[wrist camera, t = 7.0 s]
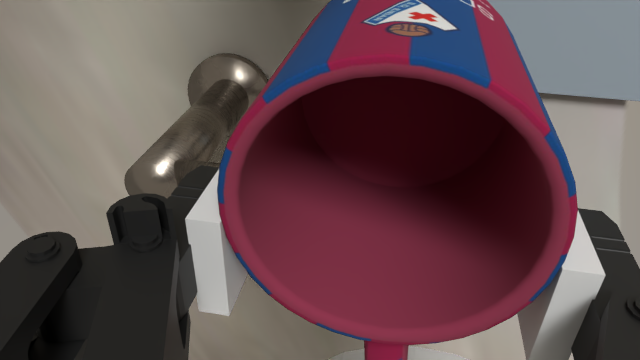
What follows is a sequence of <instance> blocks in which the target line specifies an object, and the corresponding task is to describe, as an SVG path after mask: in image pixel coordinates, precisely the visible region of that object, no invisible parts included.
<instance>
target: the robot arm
mask: <svg viewBox="0 0 640 360" xmlns="http://www.w3.org/2000/svg"><path fill="white" fill-rule="evenodd" d="M218 176H219V167H211V166H203V165H201V166H199V167H197V168H196V169H194V170H192V171H191V172H189V173H187V174H186V175H185V177H184V178H183V179H182V180H181V182H180V183H179V184H178V187H176V188H175V190H174V191H173V192H172V193H171V196H169V197H168V199H167V198H165V197H164V196H161V195H157V194H149V193H142V194H136V195H131V196H128V197H126V198H123V199H121V200H119V201H117V202H116V203H115V204H113V205H112V206H111V207H110V208H109V210H108V211H107V213H106V214H107V218H108V222H109V226H110V230H111V234H112V238H113V242H114V245H112V246H106V247H95V248H83V249H78V247H77V243H76V240H75V238H74V237H72V236H71V235H70V234H67V233H63V232H46V233H42V234H38V235H34V236H32V237H30V238H28V239H26V240H24V241H22V242H21V243H19V244H18V245H17V246H16V247H14V248H13V249H12V250H11V251H10V252H9V254H8V255H7V256H6V257H5V258H4V259H3V260H2V261H1V262H0V360H188V353H189V338H190V323H191V322H190V316H189V310H188V309H189V307H190V305H191V303H192V302H193V300H194V298H195V296H197V302H198V309H199V311H201V312H208V313H214V314H220V315H226V316H230V314H231V311H232V309H233V307H234V304H235V302H236V300H237V298H238V295H239V293H240V291H241V288H242V286H243V284H244V282H245V279H246V277H247V275H248V272H247V271H246V269H245V268H244V267H243V265H242V264H241V263H240V261H239V260H238V259H237V257H236V255H235V253H234V251H233V249H232V247H231V245H230V243H229V241H228V239H227V237H226V234H225V231H224V228H223V224H222V221H221V218H220V214H219V205H218V195H217V186H218ZM517 314H518V319H519V324H520V329H521V334H522V339H523V345H524V350H525V355H526V360H568V359H569V357H570V355H571V352H572V353H573V357H574V360H640V269H639V267H638V265H637V263H636V261H635V259H634V257H633V255H632V254H630V249H629V247H628V245H627V243H626V242H624V237H623V235H622V234H621V232H620V230H619V228H618V226H617V224H616V223H614V222H613V221H612V220H611V219H610V218H609V217H608V216H607V215H605V214H604V213H603V212H602V211H596V210H587V209H579V208H578V213H577V220H576V227H575V234H574V239H573V241H572V244H571V247H570V249H569V252H568V254H567V257H566V260H565V262H564V263H563V265H562V267H561V268H560V270H559V271H558V273H557V274H556V276H555V277H554V279H553V280H552V282H551V283H550V285H549V286H548V287H547V288H546V289H545V290H544V291H543V292H542V293H541V294H540V295H539V296H538V297H537V298H536V299H535V300H534V301H533V302H532V303H531V304H529V305H528V306H526V307H525V308H524V309H522V310H521V311H519V312H518V313H517Z"/></svg>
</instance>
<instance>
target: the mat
mask: <svg viewBox="0 0 640 360" xmlns="http://www.w3.org/2000/svg"><path fill="white" fill-rule="evenodd" d="M487 1H488V2H489V3H490V4H491V5H492V6H493V8H494V9H495V10H496V11H497V12H498V13H499V14H500V15H501V16H502V18H503V19H504V21H505V23H506V24H507V26H508V28H509V29H510V31H511V33H512V34H513V36H514V39H515V41H516V43H517V46H518V48H519V50H520V52H521V55H522V57H523V59H524V61H525V64H526V66H527V68H528V70H529V73H530V75H531V77H532V79H533V82H534V84H535V86H536V88H537V91H538V93H550V94H561V95H573V96H585V97H596V98H608V99H619V100H631V101H640V0H487Z"/></svg>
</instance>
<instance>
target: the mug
mask: <svg viewBox="0 0 640 360" xmlns="http://www.w3.org/2000/svg"><path fill="white" fill-rule="evenodd" d="M217 195H218V205H219V214H220V218H221V221H222V224H223V228H224V231H225V234H226V237H227V239H228V241H229V243H230V245H231V247H232V249H233V251H234V253H235V255H236V257H237V259H238V260H239V261H240V263H241V264H242V265H243V267H244V268H245V269H246V271H247V272H248V274H249V275H250V276H251V278H252V279H253V280H254V281H255V282H256V283H257V284H258V285H259V286H260V287H261V288H262V289H263V290H264V291H265V292H266V293H267V294H268V295H270V296H271V297H272V298H274V299H275V300H276V301H278V302H279V303H280V304H281V305H283V306H284V307H285V308H287V309H288V310H290V311H291V312H293V313H295V314H297V315H298V316H300V317H302V318H304V319H305V320H307V321H309V322H311V323H313V324H316V325H318V326H320V327H323V328H325V329H327V330H330V331H332V332H335V333H338V334H342V335H345V336H349V337H352V338H356V339H360V340H364V354H365V360H407V359H408V347H409V345H416V344H430V343H439V342H444V341H449V340H455V339H460V338H464V337H467V336H470V335H473V334H476V333H479V332H482V331H485V330H487V329H489V328H491V327H493V326H495V325H497V324H499V323H501V322H503V321H505V320H507V319H509V318H511V317H513V316H514V315H515V314H517V313H518V312H519V311H521V310H522V309H524V308H525V307H526V306H528V305H529V304H531V303H532V302H533V301H534V300H535V299H536V298H537V297H538V296H539V295H540V294H541V293H542V292H543V291H544V290H545V289H546V288H547V287H548V286H549V285H550V283H551V282H552V280H553V279H554V277H555V276H556V274H557V273H558V271H559V270H560V268H561V267H562V265H563V263H564V262H565V260H566V257H567V254H568V252H569V249H570V247H571V244H572V241H573V239H574V234H575V227H576V220H577V213H578V207H577V196H576V185H575V180H574V177H573V174H572V171H571V169H570V166H569V163H568V160H567V157H566V154H565V152H564V149H563V147H562V145H561V143H560V140H559V138H558V136H557V134H556V131H555V129H554V127H553V125H552V122H551V120H550V118H549V116H548V113H547V111H546V109H545V106H544V104H543V102H542V100H541V97H540V95H539V93H538V91H537V88H536V86H535V84H534V82H533V79H532V77H531V75H530V73H529V70H528V68H527V66H526V64H525V61H524V59H523V57H522V55H521V52H520V50H519V48H518V46H517V43H516V41H515V39H514V36H513V34H512V33H511V31H510V29H509V28H508V26H507V24H506V23H505V21H504V19H503V18H502V16H501V15H500V14H499V13H498V12H497V11H496V10H495V9H494V8H493V6H492V5H491V4H490V3H489V2H488V1H487V0H331V1H330V2H329V3H328V4H327V5H326V6H325V7H324V8H323V9H322V10H321V11H320V12H319V14H318V15H317V16H316V17H315V18H314V19H313V21H312V22H311V23H310V25H309V26H308V27H307V29H306V30H305V32H304V33H303V34H302V36H301V37H300V38H299V40H298V41H297V43H296V44H295V45H294V47H293V48H292V49H291V51H290V52H289V54H288V55H287V56H286V58H285V59H284V60H283V62H282V63H281V65H280V66H279V67H278V69H277V70H276V71H275V73H274V74H273V76H272V77H271V78H270V80H269V81H268V82H267V84H266V85H265V87H264V88H263V89H262V91H261V92H260V93H259V95H258V96H257V98H256V99H255V100H254V102H253V103H252V104H251V106H250V107H249V109H248V110H247V111H246V113H245V114H244V115H243V117H242V118H241V120H240V121H239V123H238V125H237V127H236V128H235V130H234V132H233V133H232V135H231V137H230V138H229V140H228V142H227V145H226V148H225V151H224V154H223V157H222V160H221V163H220V166H219V176H218V186H217Z"/></svg>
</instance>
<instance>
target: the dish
mask: <svg viewBox="0 0 640 360" xmlns="http://www.w3.org/2000/svg"><path fill="white" fill-rule="evenodd" d="M327 360H365V354H364V349H358V350H353V351H347V352H343V353H341V354H338V355H336V356H334V357H332V358H329V359H327ZM407 360H469V359H467V358H464V357H462V356H459V355H456V354H454V353H448V352H443V351H437V350H432V349H427V348H421V347H416V346H409V347H408V359H407Z"/></svg>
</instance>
